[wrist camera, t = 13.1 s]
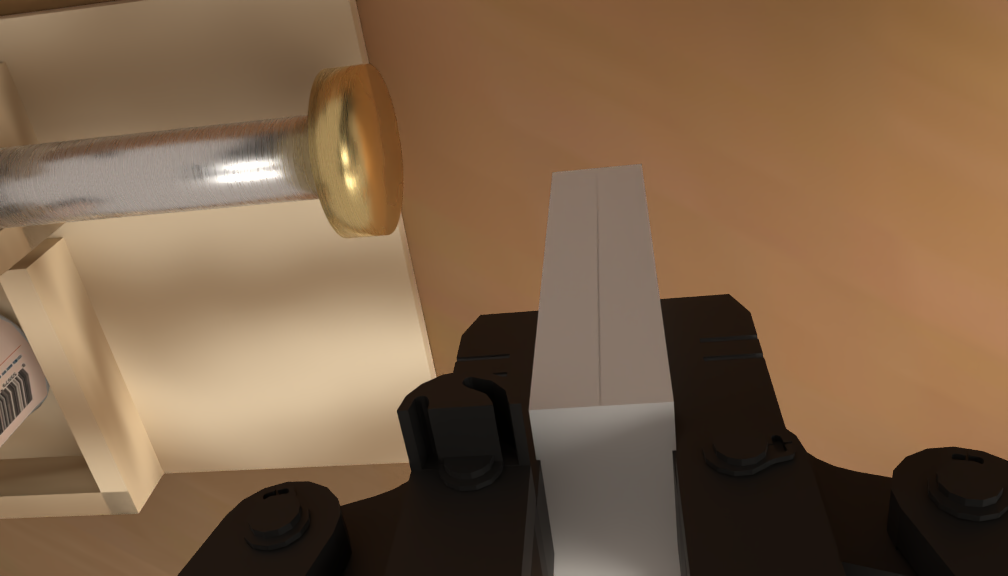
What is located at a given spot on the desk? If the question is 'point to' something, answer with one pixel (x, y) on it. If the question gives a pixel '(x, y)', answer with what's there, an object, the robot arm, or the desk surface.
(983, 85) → the desk surface
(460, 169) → the desk surface
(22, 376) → the beer can
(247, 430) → the cradle
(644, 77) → the desk surface
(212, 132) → the shaft
